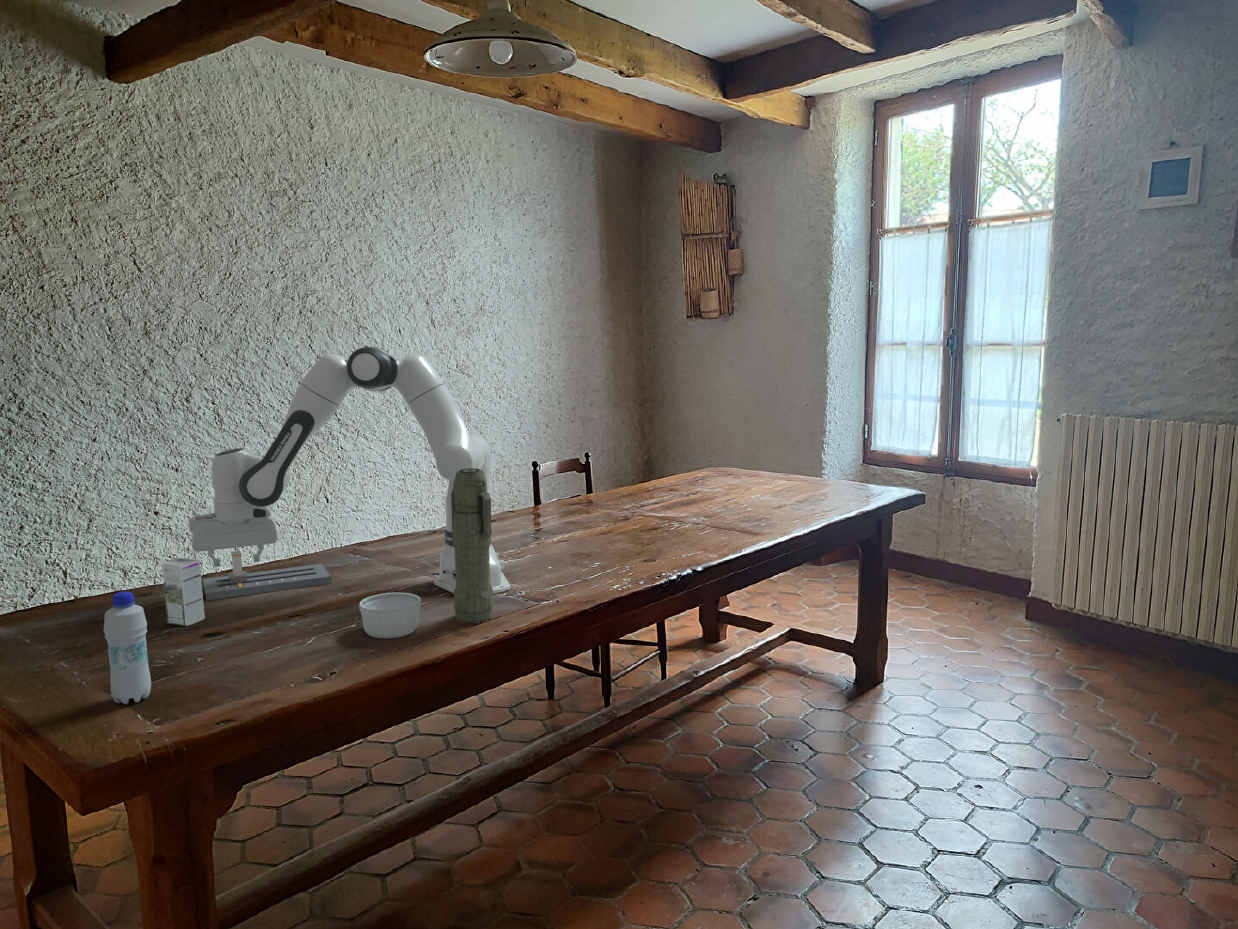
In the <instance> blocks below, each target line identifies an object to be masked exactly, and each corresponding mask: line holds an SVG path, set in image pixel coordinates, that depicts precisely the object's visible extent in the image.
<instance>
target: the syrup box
mask: <svg viewBox="0 0 1238 929" xmlns="http://www.w3.org/2000/svg"><path fill="white" fill-rule="evenodd" d="M200 561H201V560H200V559H197V558H195V559H194V558H186V557H185V558H184V557H178V558H174V559H170V560H168V561H165V562H163V563H161V569H162V580H163V591H164V601H165V610H166V621H167V624H169V625H174V626H182V627H188V626H190V625H191V626H192V625H194V624H196V623H200V622H201V621H203V620H205V618H206V617H205V616H206V615H205V608H204V607H205V606H204V598H203V597H204V596H203V586H202V585H203V583H202V572H201V562H200Z"/></svg>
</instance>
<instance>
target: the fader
mask: <svg viewBox="0 0 1238 929" xmlns="http://www.w3.org/2000/svg"><path fill="white" fill-rule="evenodd" d="M230 553H231V561H232V564H231V566H232V572H229V573H228V576H229V580H230V583H231V584H232V583H240V582H247V574H246V573H247V572H246V571H244V570H243V564H242V563H243V562H242V552H241V550H233V551H231V552H230Z"/></svg>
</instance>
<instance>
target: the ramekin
mask: <svg viewBox="0 0 1238 929" xmlns="http://www.w3.org/2000/svg"><path fill="white" fill-rule="evenodd" d="M421 600H422V599H421V597H420V596H418V595H417V594H414V593H408V592H386V593H380V594H374V595H371V596H368V597H366V598H363V599H361V600H360V602H359V606H358V609H359V612H360V614H361V620H362V621H361V622H362V627H363V630H364V631H365V633H366V634H367V635H368V636H370V637H373V638H377V639H396V638H401V637H405V636H408V635H410V634H412V633H413V632H414V631H415V630H416V629H417V628H418V626H419V621H420V607H421V606H422V601H421Z"/></svg>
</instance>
